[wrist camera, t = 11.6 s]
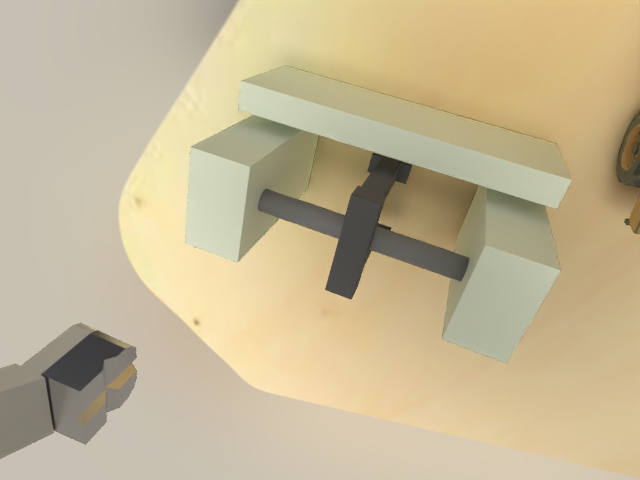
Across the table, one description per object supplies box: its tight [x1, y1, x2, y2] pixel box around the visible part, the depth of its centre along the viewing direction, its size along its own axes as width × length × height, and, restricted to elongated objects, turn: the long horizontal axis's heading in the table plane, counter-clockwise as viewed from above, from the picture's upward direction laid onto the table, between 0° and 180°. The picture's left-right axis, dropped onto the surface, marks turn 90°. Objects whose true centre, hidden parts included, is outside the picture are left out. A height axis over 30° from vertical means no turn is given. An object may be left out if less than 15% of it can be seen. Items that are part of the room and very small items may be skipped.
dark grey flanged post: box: [325, 153, 412, 299], centre depth 32 cm, size 3×7×9 cm, turn 168°
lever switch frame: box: [185, 66, 572, 364], centre depth 33 cm, size 22×10×14 cm, turn 78°
